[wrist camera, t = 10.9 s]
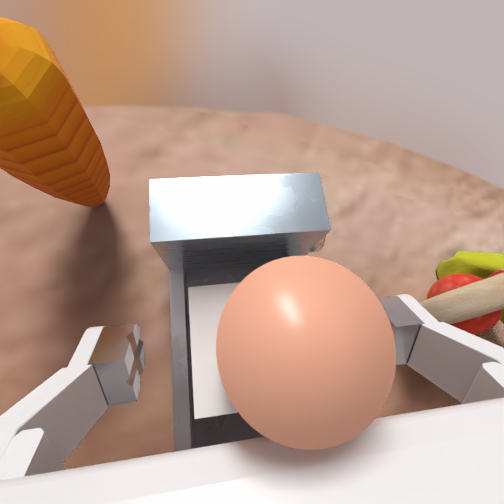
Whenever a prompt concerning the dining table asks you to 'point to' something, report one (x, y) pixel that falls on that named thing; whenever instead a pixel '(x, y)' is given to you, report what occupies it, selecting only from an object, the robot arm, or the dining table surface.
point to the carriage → (292, 352)
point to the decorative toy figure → (468, 291)
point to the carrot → (46, 122)
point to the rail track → (225, 261)
